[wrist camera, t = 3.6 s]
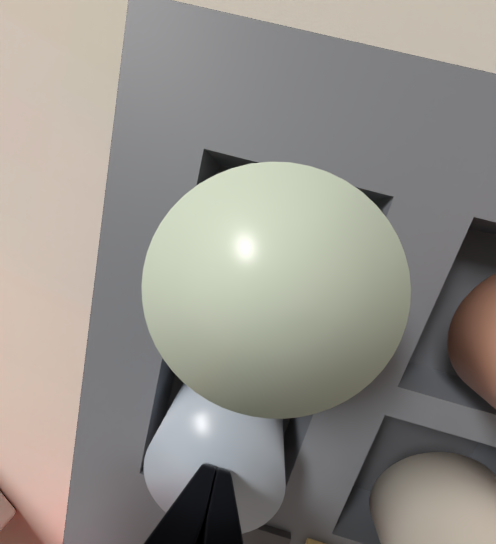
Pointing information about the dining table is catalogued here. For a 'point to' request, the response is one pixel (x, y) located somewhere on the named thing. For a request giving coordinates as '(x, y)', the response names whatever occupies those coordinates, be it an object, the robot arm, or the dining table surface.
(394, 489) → the ivory button
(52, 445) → the dining table surface
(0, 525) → the small box
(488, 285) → the terracotta button
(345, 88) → the button board
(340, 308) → the sage button
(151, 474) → the slate button
